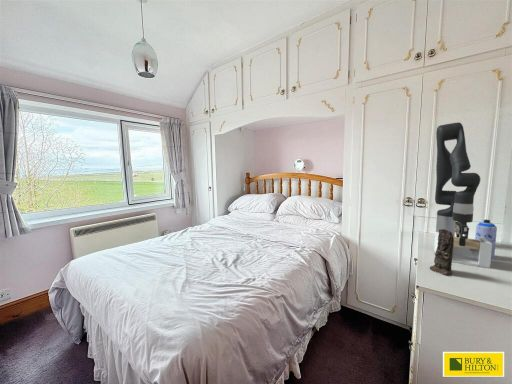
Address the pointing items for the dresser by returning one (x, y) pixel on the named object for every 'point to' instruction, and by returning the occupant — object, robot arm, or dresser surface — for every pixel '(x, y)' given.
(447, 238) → the statue
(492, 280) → the dresser surface
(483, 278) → the dresser surface
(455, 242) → the shelf board
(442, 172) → the robot arm
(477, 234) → the aerosol can
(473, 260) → the cabinet bay
